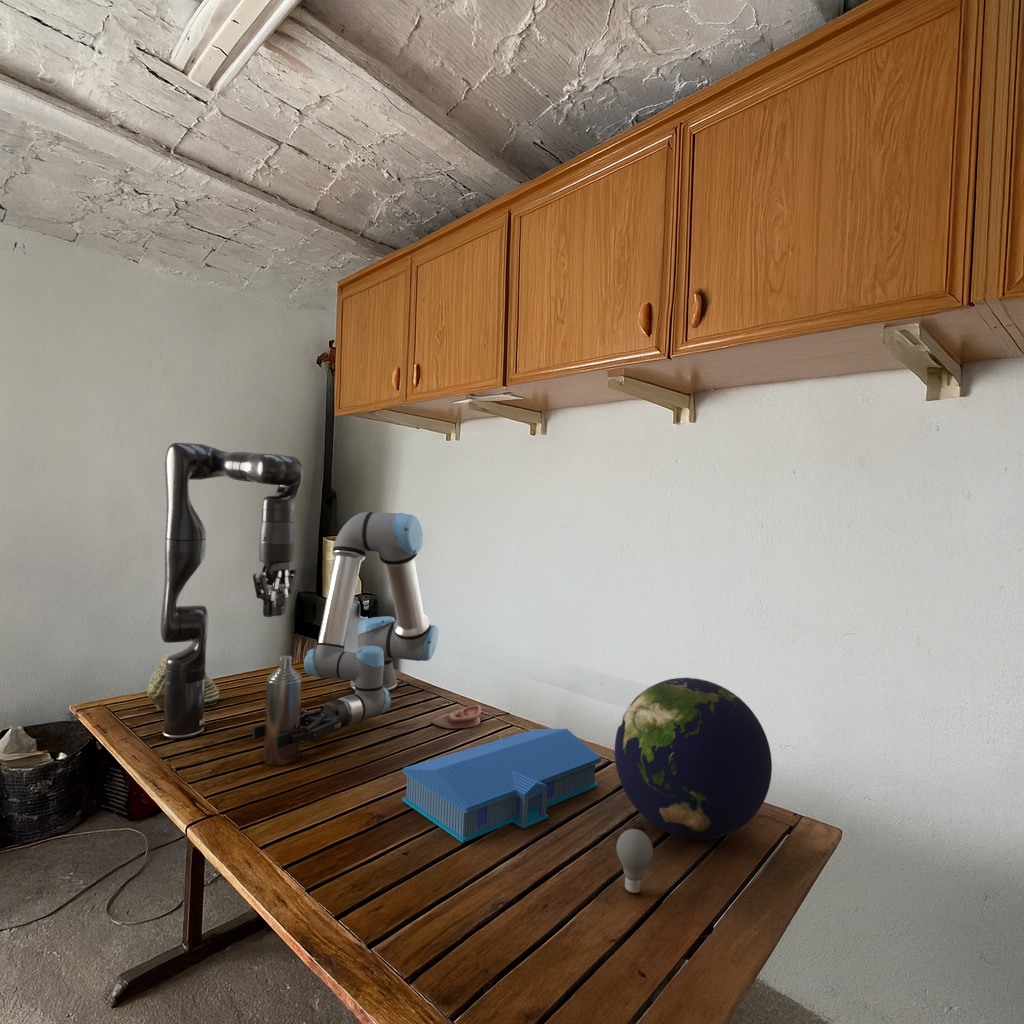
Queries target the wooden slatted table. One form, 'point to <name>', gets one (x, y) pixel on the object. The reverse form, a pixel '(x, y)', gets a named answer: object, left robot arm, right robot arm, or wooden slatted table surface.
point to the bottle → (282, 712)
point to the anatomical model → (460, 718)
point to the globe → (693, 758)
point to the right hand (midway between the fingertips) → (265, 737)
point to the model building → (501, 782)
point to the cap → (278, 610)
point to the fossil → (158, 687)
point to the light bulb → (634, 857)
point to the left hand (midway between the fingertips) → (274, 614)
